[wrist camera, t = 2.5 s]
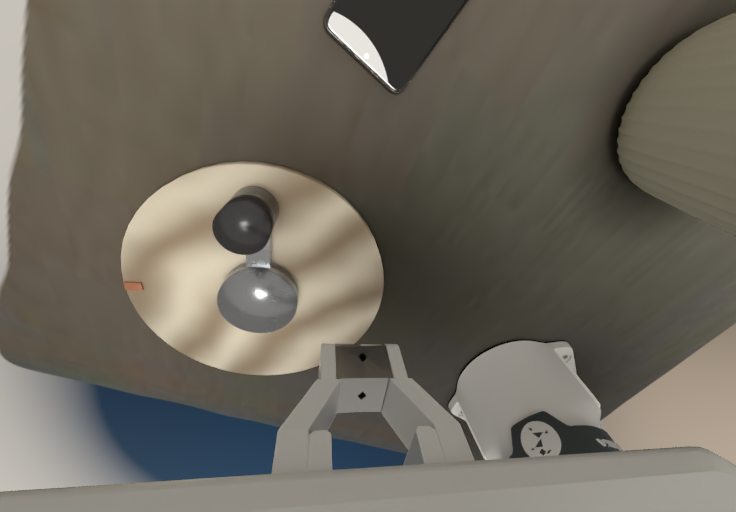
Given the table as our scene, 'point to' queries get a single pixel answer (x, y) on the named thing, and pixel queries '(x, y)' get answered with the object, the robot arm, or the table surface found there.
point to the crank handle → (253, 264)
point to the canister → (687, 127)
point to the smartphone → (391, 34)
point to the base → (213, 262)
